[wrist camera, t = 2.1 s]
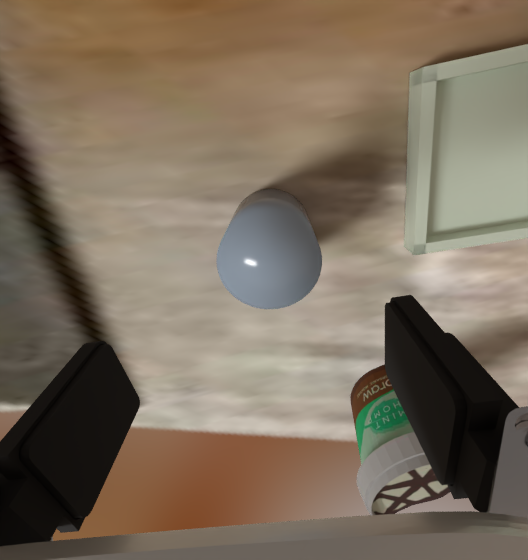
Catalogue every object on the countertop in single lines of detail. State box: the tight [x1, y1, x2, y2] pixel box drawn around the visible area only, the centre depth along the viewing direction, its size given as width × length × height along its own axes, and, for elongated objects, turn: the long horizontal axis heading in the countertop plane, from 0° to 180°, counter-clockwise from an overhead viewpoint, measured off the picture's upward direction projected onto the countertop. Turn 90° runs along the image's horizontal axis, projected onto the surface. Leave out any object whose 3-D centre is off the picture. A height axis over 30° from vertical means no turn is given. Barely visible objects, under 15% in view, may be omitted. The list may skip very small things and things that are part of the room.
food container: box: [351, 365, 450, 515], centre depth 26 cm, size 12×6×10 cm, turn 140°
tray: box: [404, 44, 528, 255], centre depth 19 cm, size 12×12×2 cm
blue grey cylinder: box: [217, 189, 322, 309], centre depth 20 cm, size 6×6×7 cm
